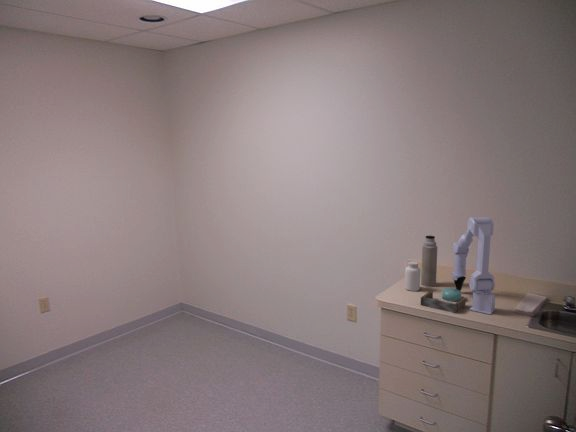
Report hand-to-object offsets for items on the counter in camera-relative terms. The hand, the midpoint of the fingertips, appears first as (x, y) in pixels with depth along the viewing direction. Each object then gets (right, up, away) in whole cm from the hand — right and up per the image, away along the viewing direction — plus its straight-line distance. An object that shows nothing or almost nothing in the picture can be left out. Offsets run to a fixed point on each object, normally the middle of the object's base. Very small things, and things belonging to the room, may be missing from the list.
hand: (458, 290), depth 224 cm
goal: (-15, -5, -17) cm, 23 cm away
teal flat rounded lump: (-7, -3, -8) cm, 11 cm away
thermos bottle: (-11, 0, +15) cm, 19 cm away
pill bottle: (-23, -1, +8) cm, 24 cm away
